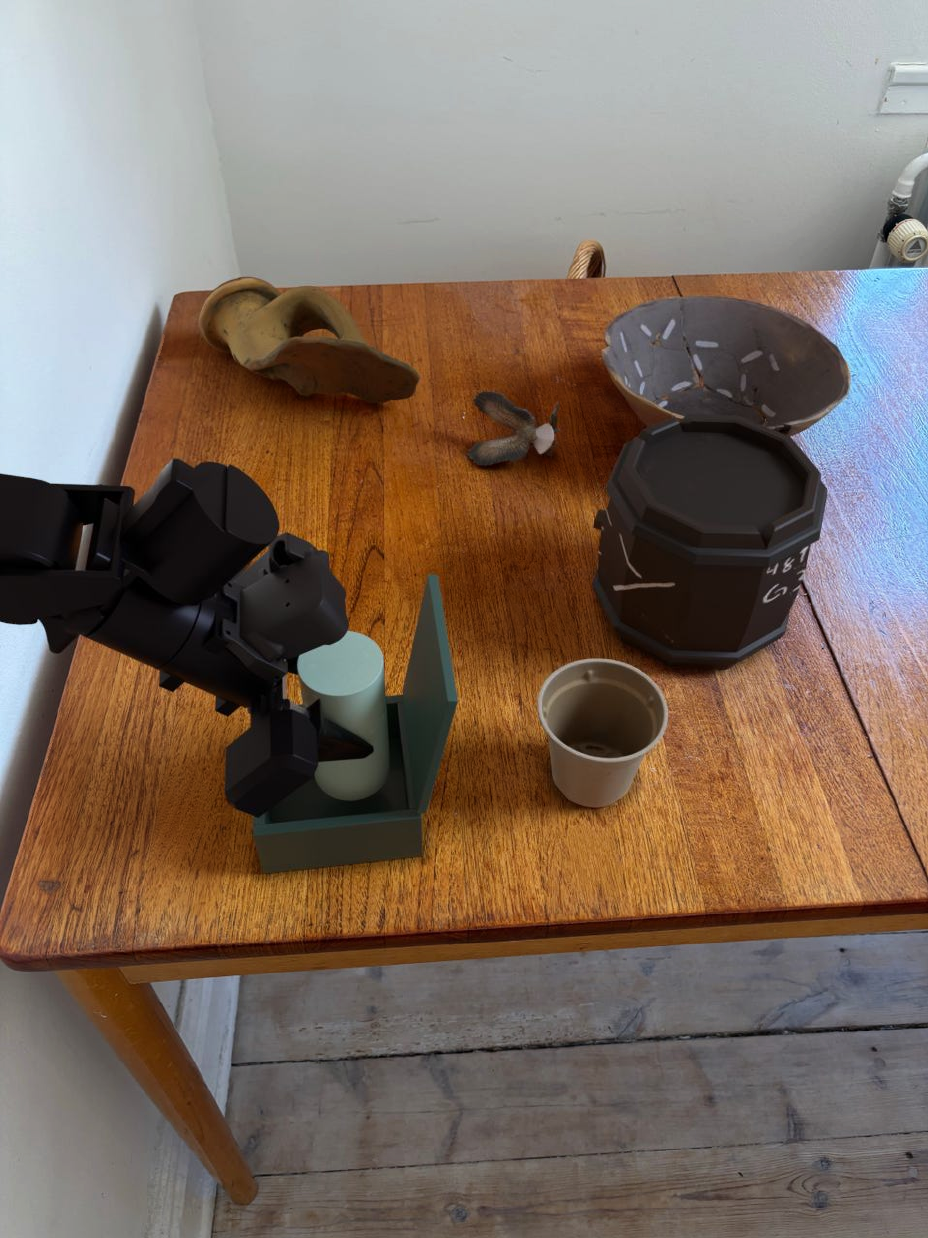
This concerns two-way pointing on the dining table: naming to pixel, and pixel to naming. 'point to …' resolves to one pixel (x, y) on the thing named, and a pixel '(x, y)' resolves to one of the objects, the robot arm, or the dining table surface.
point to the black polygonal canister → (706, 539)
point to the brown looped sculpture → (301, 341)
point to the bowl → (724, 362)
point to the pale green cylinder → (350, 710)
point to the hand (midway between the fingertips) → (366, 718)
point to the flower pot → (599, 727)
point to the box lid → (429, 694)
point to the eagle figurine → (519, 422)
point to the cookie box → (346, 817)
